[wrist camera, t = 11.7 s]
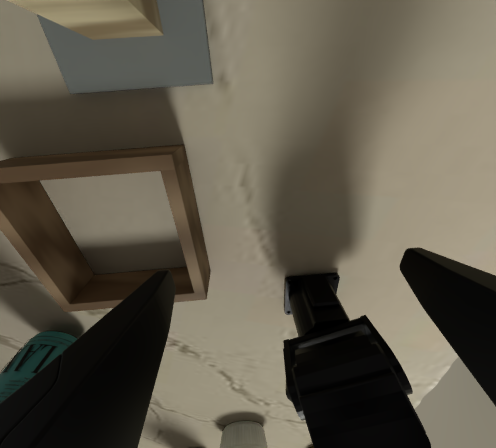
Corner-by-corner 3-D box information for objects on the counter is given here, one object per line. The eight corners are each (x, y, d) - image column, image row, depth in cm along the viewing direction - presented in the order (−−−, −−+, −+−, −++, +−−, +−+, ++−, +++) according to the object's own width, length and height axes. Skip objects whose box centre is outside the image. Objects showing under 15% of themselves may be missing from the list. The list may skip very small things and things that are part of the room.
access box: (210, 271, 24) (206, 299, 21) (89, 282, 24) (64, 312, 20) (184, 144, 17) (171, 154, 14) (12, 157, 17) (-45, 171, 14)
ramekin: (246, 413, 45) (248, 448, 40) (276, 426, 50) (280, 459, 45) (209, 428, 48) (206, 463, 43) (239, 439, 53) (240, 471, 48)
